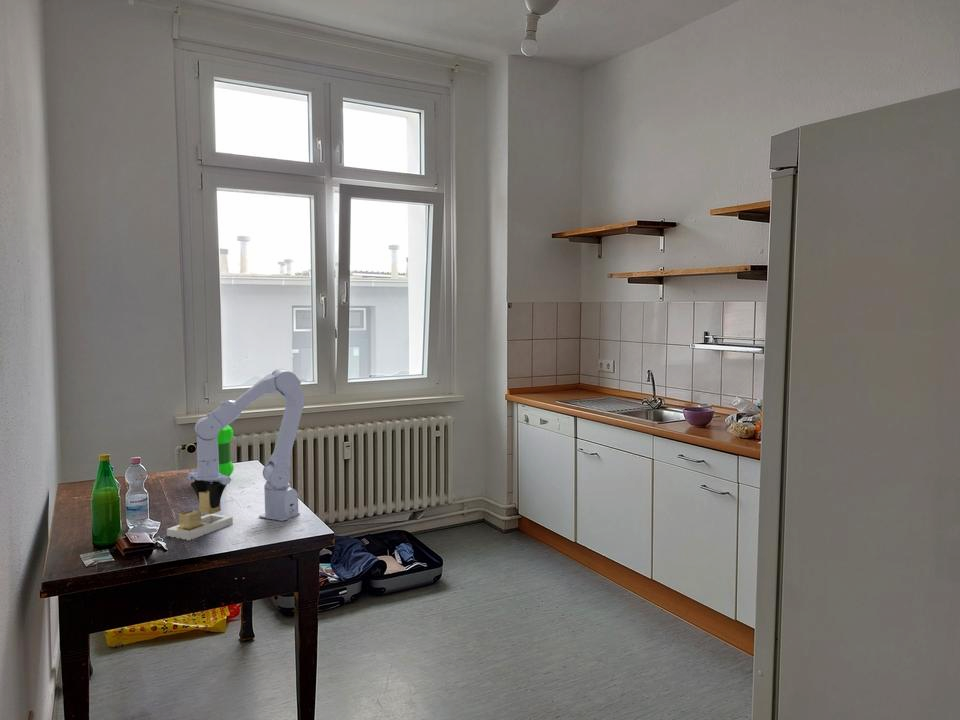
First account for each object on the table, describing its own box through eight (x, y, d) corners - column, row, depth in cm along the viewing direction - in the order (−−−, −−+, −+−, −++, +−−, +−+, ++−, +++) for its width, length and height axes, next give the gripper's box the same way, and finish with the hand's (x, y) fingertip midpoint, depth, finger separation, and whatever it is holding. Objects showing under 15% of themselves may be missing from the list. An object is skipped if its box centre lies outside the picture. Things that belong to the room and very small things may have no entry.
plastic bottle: (198, 481, 245) (195, 412, 243) (221, 474, 254) (219, 408, 252) (217, 484, 240) (215, 414, 239) (240, 477, 250) (238, 410, 248)
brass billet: (220, 510, 195) (220, 489, 195) (209, 514, 191) (209, 493, 191) (210, 509, 197) (209, 488, 196) (199, 512, 193) (198, 491, 193)
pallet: (232, 523, 196) (232, 516, 196) (189, 540, 182) (188, 533, 182) (211, 519, 200) (211, 513, 200) (167, 536, 186) (166, 528, 186)
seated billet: (201, 532, 189) (200, 510, 188) (190, 536, 185) (189, 514, 185) (191, 530, 191) (190, 509, 190) (179, 534, 187) (178, 512, 187)
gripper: (178, 460, 192) (180, 506, 193) (215, 464, 186) (217, 513, 187) (198, 455, 199) (199, 500, 200) (235, 459, 192) (236, 506, 193)
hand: (209, 506), depth 194 cm, fingers closed on brass billet, 4 cm apart
